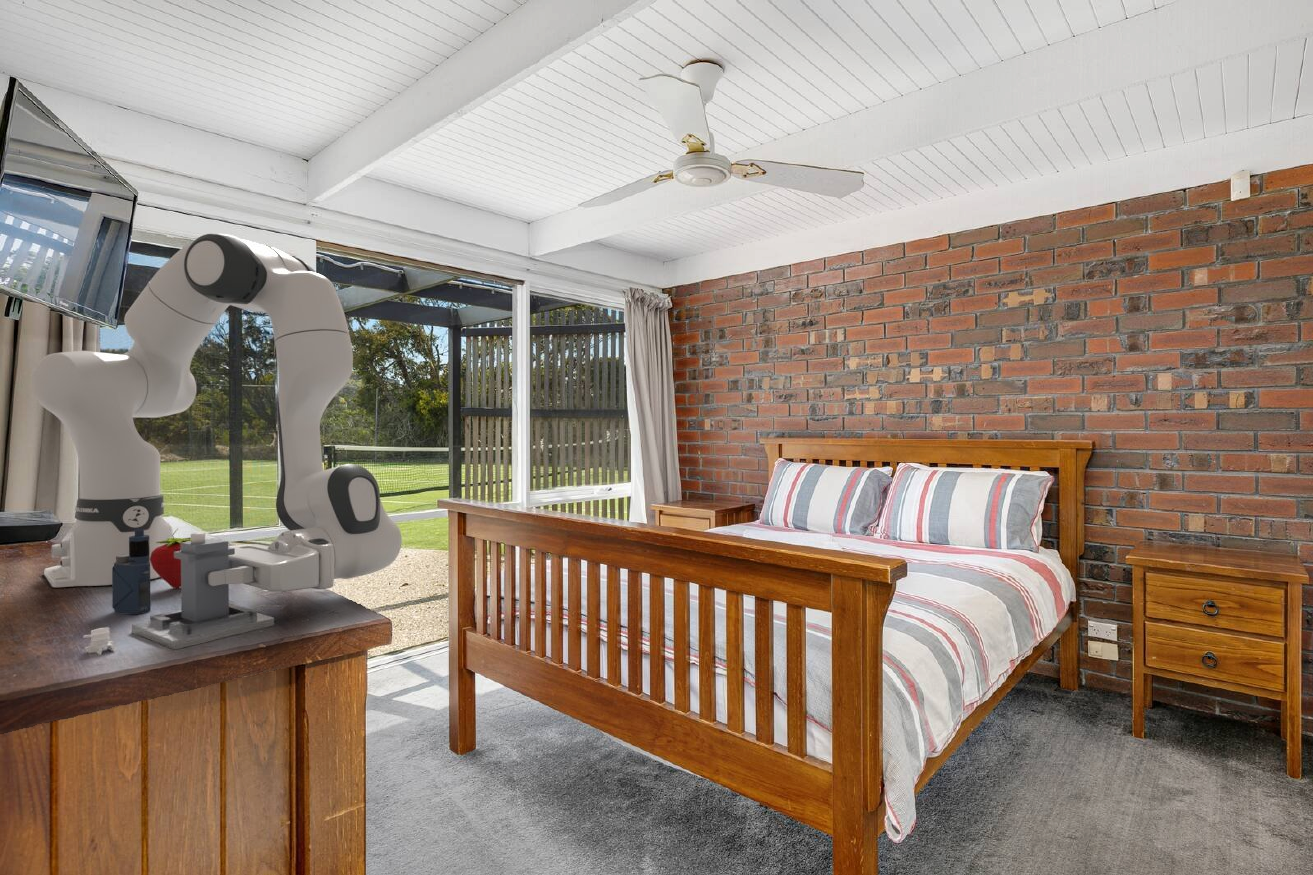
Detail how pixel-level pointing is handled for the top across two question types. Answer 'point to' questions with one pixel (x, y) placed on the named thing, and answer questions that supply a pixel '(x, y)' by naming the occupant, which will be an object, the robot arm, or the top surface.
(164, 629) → the plate
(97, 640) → the power adapter
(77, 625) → the top surface
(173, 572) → the strawberry
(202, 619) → the block
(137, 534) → the vaping device
